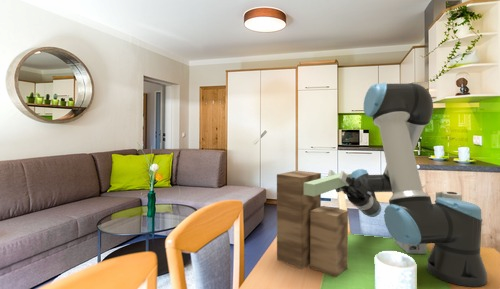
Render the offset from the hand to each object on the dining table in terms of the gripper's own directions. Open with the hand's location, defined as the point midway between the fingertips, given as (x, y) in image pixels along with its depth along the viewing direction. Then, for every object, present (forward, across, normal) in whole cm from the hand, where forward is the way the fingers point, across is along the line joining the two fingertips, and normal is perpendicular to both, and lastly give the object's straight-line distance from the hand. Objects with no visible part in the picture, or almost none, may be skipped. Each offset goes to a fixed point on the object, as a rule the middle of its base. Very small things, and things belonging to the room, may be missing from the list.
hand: (335, 174), depth 97 cm
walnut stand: (-10, +5, -29) cm, 31 cm away
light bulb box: (-41, -15, -12) cm, 46 cm away
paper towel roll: (-49, -26, -7) cm, 56 cm away
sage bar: (+2, 0, -6) cm, 6 cm away
